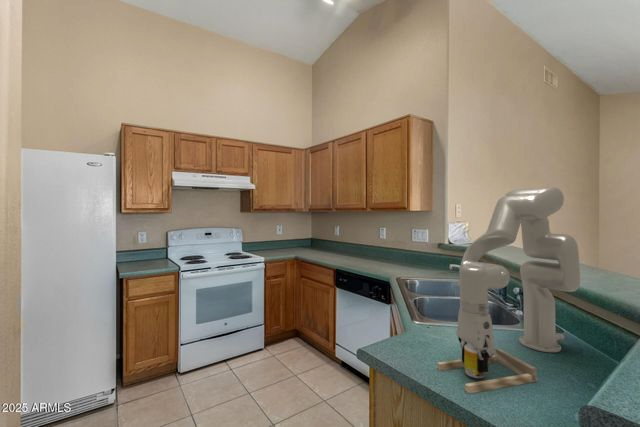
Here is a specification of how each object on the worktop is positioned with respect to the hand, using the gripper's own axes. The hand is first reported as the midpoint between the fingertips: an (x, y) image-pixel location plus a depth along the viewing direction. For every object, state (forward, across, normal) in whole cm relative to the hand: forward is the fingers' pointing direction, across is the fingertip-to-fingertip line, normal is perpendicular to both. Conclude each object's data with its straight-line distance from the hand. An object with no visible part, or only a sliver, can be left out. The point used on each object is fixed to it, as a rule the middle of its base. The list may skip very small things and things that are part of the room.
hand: (474, 365), depth 88 cm
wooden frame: (+3, 0, -4) cm, 5 cm away
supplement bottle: (+3, 0, 0) cm, 3 cm away
